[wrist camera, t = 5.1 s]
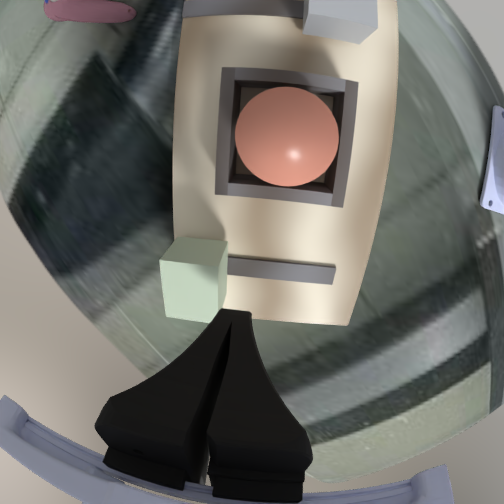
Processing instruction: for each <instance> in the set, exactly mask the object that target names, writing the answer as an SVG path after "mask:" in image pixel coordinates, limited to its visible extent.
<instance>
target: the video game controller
mask: <svg viewBox="0 0 504 504" xmlns="http://www.w3.org/2000/svg"><path fill="white" fill-rule="evenodd" d="M44 11H45V14H46V15H47V17H48V18H50V19H52V20H54V21H67V20H69V21H77V22H91V23H117V22H125V21H130V20H132V19H133V18H134V17H135V16H136V14H137V13H136V11H135V9H134V8H132V7H131V6H129V5H127V4H124V3H120V2H114V1H107V0H45V2H44Z"/></svg>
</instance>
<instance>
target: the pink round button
mask: <svg viewBox="0 0 504 504" xmlns="http://www.w3.org/2000/svg"><path fill="white" fill-rule="evenodd" d="M235 141H236V147H237V150H238V153H239V155H240V158H241V159H242V161H243V163H244V164H245V165H246V167H247V168H248V169H249V170H250V171H251V172H252V173H253V174H254V175H256V176H257V177H258V178H260V179H262V180H264V181H266V182H268V183H271V184H274V185H279V186H298V185H302V184H305V183H308V182H310V181H312V180H314V179H316V178H317V177H319V176H320V175H321V174H323V173H324V172H325V171H326V170H327V168H328V167H329V166H330V164H331V163H332V161H333V159H334V157H335V155H336V152H337V149H338V143H339V134H338V127H337V123H336V121H335V118H334V116H333V114H332V112H331V111H330V109H329V108H328V106H327V105H326V104H325V103H324V102H323V101H322V100H321V99H319V98H318V97H317V96H315V95H314V94H312V93H310V92H308V91H306V90H303V89H299V88H295V87H276V88H272V89H269V90H266V91H264V92H262V93H260V94H258V95H257V96H255V97H254V98H252V99H251V100H250V101H249V102H248V103H247V104H246V106H245V107H244V108H243V110H242V111H241V113H240V115H239V118H238V120H237V124H236V129H235Z"/></svg>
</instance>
